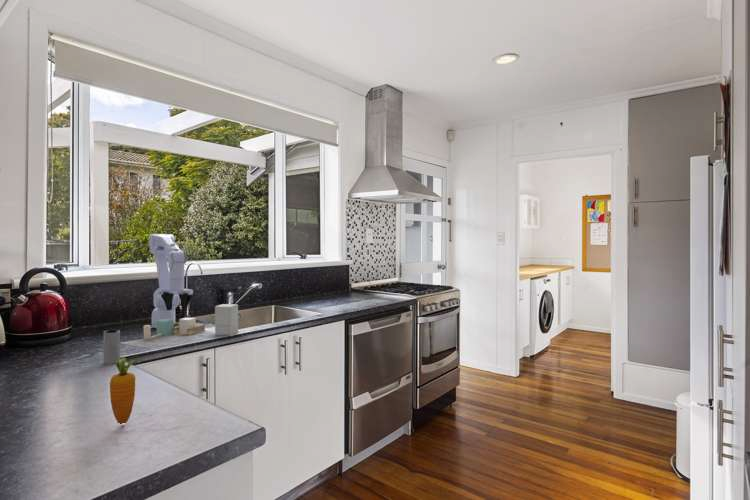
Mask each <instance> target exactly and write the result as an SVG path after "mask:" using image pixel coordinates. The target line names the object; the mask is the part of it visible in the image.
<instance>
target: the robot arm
mask: <svg viewBox="0 0 750 500" xmlns="http://www.w3.org/2000/svg"><path fill="white" fill-rule="evenodd" d="M148 247H149V251H150V253H151V254H152V255H154V259H155V264H156V265H155V266H156V272H157V279H158V288H157V289H156V290H155V291H154V292H153V307H154V309H152V311H151V326H150V329H152V328H155V329H157V327H156V321H158V320H162V319H173V323H175V322H176V309H177V307H179V305H180V302H181V312H187V310H188V307H189V305H190V301H191V299H192V298H193V294H194V290H193V289H189V288H185V264H186V263H187V253H186V251H185V250H181V249H180V248H179V246H178V245H177V244H176V243H175V236H174V234H173V233H169V234H168V233H151V234H149V238H148Z"/></svg>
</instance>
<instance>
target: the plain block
mask: <svg viewBox="0 0 750 500" xmlns="http://www.w3.org/2000/svg"><path fill="white" fill-rule="evenodd" d="M196 320H197V318H196V317H183V318H179V321H178V323H179V334H187V329H188V328H192V327H195V326H196V324H197V323H196Z"/></svg>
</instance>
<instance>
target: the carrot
mask: <svg viewBox="0 0 750 500" xmlns="http://www.w3.org/2000/svg"><path fill="white" fill-rule="evenodd" d="M126 362H127V359H126V358H125V357H120V362H119V361H117V362H116V364H115V365H116V368H117V370H118V372H119V373H116V374H114V375H112V376H111V379H110V381H109V395H110V405H111V409H112V410H111V411H112V413H113V416H114V418H115V421H116V422H117V423H118V424H119V423H120V424H122V423H126V422H127V423H128V421H129V419H130V416H131V414H132V412H133V407H134V400H135V395H136V393H135V392H136V375H135V374H134V373H133V372H128V370H129V369H130V367H131V366H132V365H133V364H134V363H136V360H135V359H133V360H131V361H129V362H128V364H126ZM127 423H126V424H127Z"/></svg>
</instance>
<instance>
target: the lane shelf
mask: <svg viewBox="0 0 750 500" xmlns="http://www.w3.org/2000/svg"><path fill="white" fill-rule="evenodd" d="M205 326H206V325H205V324H204V323H203V324H202V323H196V326H195V327H192V328H188V329H187V334H179V321H178V322H176V321H175V323H173V327H174V328H173V334H172V335H178V336H192V335H195V334H199V333H201V332H204V331H206V329H205Z"/></svg>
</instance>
